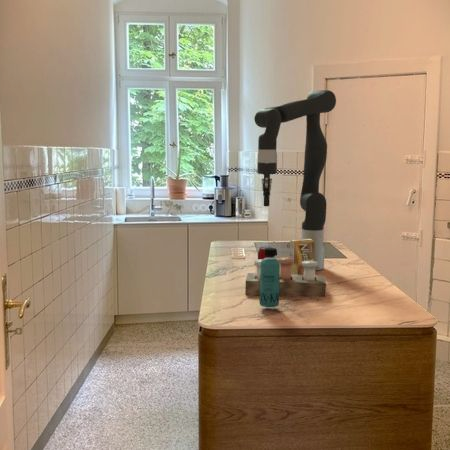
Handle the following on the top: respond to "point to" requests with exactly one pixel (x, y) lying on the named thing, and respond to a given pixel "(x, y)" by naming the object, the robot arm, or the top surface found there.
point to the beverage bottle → (269, 279)
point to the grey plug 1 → (258, 268)
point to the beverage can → (261, 253)
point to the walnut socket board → (291, 286)
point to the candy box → (301, 254)
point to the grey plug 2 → (309, 269)
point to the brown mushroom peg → (285, 267)
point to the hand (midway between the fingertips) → (266, 206)
